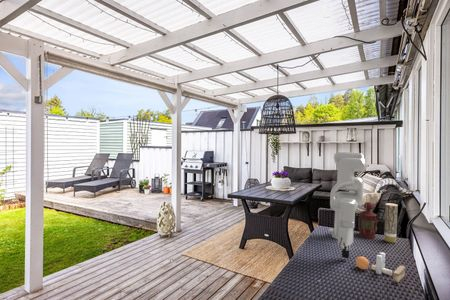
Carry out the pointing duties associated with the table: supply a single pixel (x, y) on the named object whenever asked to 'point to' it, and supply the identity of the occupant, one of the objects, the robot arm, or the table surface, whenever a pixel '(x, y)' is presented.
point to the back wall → (399, 274)
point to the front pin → (385, 271)
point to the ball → (362, 262)
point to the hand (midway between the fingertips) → (345, 257)
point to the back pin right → (379, 264)
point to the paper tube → (390, 222)
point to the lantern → (367, 221)
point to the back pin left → (383, 259)
